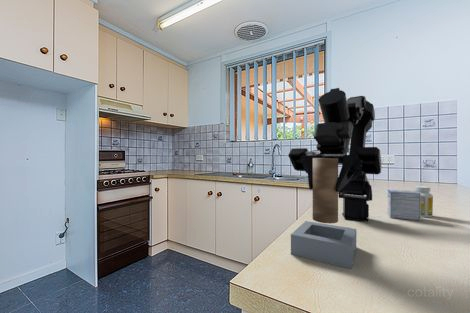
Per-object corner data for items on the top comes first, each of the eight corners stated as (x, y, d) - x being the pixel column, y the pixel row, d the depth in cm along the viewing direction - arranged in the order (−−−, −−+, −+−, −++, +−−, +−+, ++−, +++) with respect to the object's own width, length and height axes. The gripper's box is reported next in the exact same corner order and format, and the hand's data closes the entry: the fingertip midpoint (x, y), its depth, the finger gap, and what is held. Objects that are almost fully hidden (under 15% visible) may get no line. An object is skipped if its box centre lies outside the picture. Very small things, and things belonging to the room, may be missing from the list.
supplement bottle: (416, 216, 72) (416, 187, 72) (408, 212, 77) (408, 185, 77) (436, 218, 71) (436, 188, 71) (427, 214, 76) (427, 185, 76)
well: (351, 268, 39) (351, 246, 39) (290, 253, 45) (290, 234, 45) (356, 247, 49) (356, 228, 49) (305, 237, 55) (305, 220, 55)
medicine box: (416, 217, 72) (416, 190, 72) (421, 221, 68) (421, 192, 68) (387, 214, 75) (387, 189, 75) (390, 218, 71) (390, 191, 71)
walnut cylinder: (308, 219, 47) (308, 158, 47) (319, 215, 51) (319, 157, 50) (331, 225, 44) (332, 158, 43) (342, 219, 47) (342, 158, 47)
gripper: (291, 116, 56) (269, 161, 47) (380, 106, 44) (371, 164, 36) (303, 148, 62) (286, 193, 53) (383, 146, 50) (377, 204, 42)
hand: (323, 189), depth 46 cm, fingers closed on walnut cylinder, 5 cm apart
